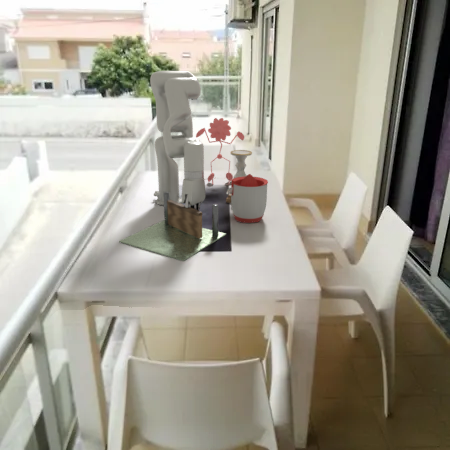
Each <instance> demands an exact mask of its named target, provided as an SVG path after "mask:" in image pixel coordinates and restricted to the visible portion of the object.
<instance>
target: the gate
mask: <svg viewBox="0 0 450 450" xmlns="http://www.w3.org/2000/svg"><path fill="white" fill-rule="evenodd" d="M167 206H168V224H169V225H171V226H173V227H175V228H177V229H180V230H182V231H184V232H186V233H188V234H190V235H192V236H195V237H197V238H202V228H203V212H202V211H201V210H199V211H198V210H196V209H193V208H191V207H190V208H185V204H183V203H178V202H176V201H173V200H168V201H167Z"/></svg>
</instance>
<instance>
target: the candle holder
mask: <svg viewBox="0 0 450 450" xmlns="http://www.w3.org/2000/svg"><path fill="white" fill-rule="evenodd" d="M229 152H230V155H232V156H234V157H235V159H236V161H237V162H236V164H235V167H236V170H237V171H236V173H235V174H234V176H233V179H234V178H237V177H245V176H247V175H248V174H247V173H246V171H245V169H246V167H247V164H246V159H247V157H249V156H252V155H253V152H252V151H250V150H247V149H233V150H231V151H229ZM225 202H226V203H228V204H231V194H227V197H226V198H225Z"/></svg>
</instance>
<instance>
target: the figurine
mask: <svg viewBox="0 0 450 450" xmlns="http://www.w3.org/2000/svg"><path fill="white" fill-rule="evenodd" d="M229 122H230V120H227V119H225V120H224V118H223V117H220V118H219V119H218V118H217V117H214V119H213V122H210V123H209V127H210V128H208V129H207V131H208V133H209V134H210V135H209V136H210V138H211V139H215V140H213V141H210V138H209V136H208V133H207V131H206V128H205V127H203V128H201V129H200V130H198V131H197V133H196V134H195V138H198V137H201V136H202V135H203V134H204V133H205V135H206V138H207V141H208V143H217V142H219V143H220V149H219V153H217V156H216V157H215V158H214V159H212V161H211V163H213V162H214V161H215V160H216V159H218V160H220V159H224V160H226V161H228V162H229V164H228V170H230V167H231V161H230V159H229V160H228V159H227V158H225V157H223V155H222V153H221V151H222V147H223V143H225V144H228V145H231V144H232V143H233V142H234V140H235V139H236V138H239V139H240V140H241V141H244V139H245V135H244V134H243V133H242V132H241V131H238V132H237V133H236V135H235V136H234V138H233V139H232V140H231V141H230V142H227V141H226V139H227V137H231V135H232V134H231V130H232V127H231V126H230V125H229ZM212 167H213V166H212V164H210V171H211V173H210V174H209V175H208V177H207V182H208V183H209V182H212V185H213V186H214V179H215V173H214V172H213V168H212ZM233 177H234V176H233V174H232V173H231V172H230V171H227V172H226V174H225V179H227V181H228V185H231V183H230V182H231V180H232V179H233ZM205 180H206V178H204V181H205Z"/></svg>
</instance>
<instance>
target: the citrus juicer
mask: <svg viewBox="0 0 450 450" xmlns="http://www.w3.org/2000/svg"><path fill="white" fill-rule="evenodd" d="M246 175H247V176H245V177H237V178H234V179H232V180H231V181H230V182H231V183H230V186H231V187H229V188H228V189H226V195H229V194H231V203H230V204H231V210H232V215H233V217H234V220H235V221H237V222H239V223H246V224H247V223H248V224H251V223H254V224H255V223H259V222H260V221H262V219H263V217H264V214H265V212H266V207H267V203H268V202H267V200H268V196H267V195H268V184H269V181H268V180H267V179H265V178H263V177H259V176H253V175H252V174H251V173H249V174H246Z"/></svg>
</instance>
